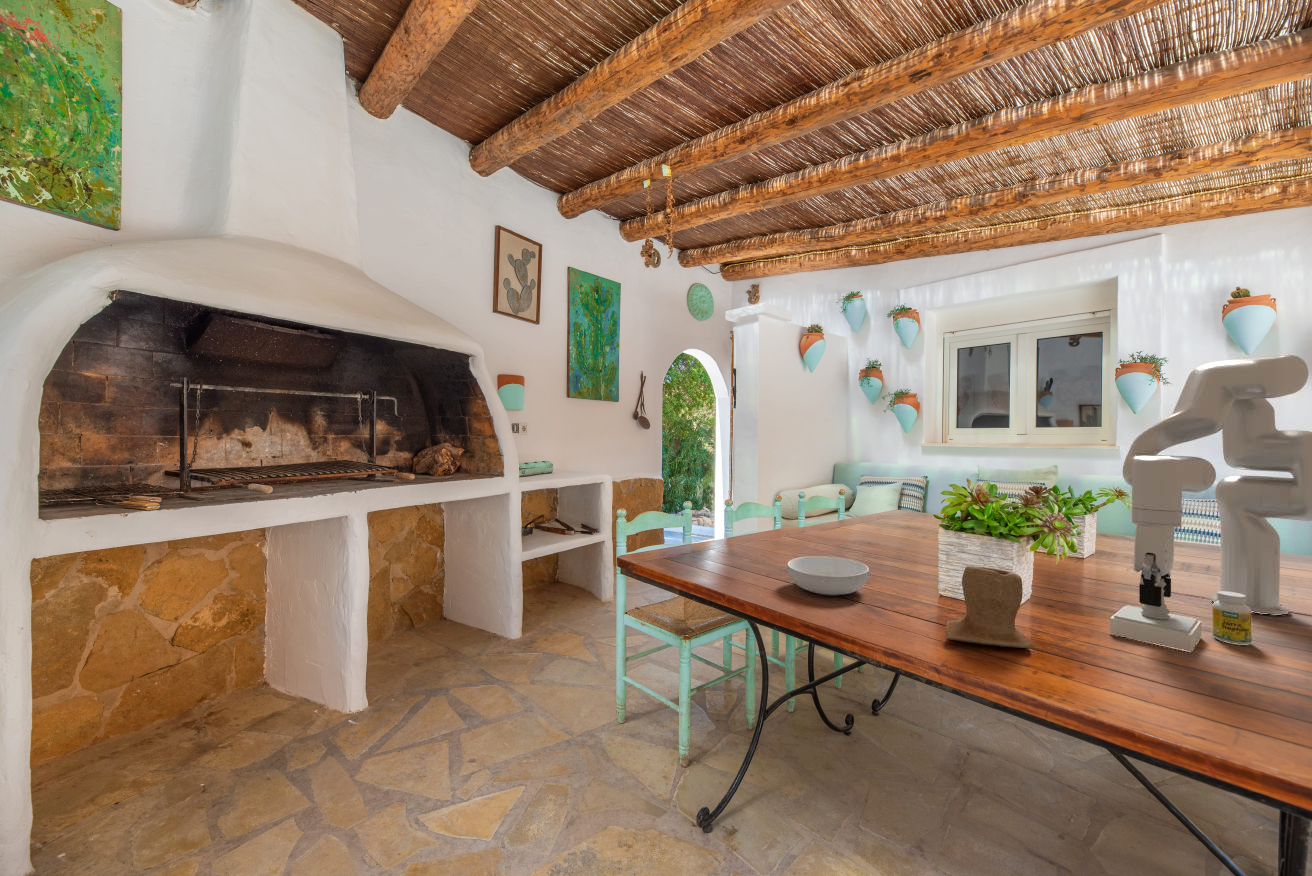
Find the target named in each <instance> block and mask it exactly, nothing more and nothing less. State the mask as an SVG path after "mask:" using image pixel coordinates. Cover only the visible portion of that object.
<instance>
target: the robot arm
mask: <svg viewBox="0 0 1312 876" xmlns="http://www.w3.org/2000/svg"><path fill="white" fill-rule="evenodd" d="M1308 379H1309V367H1308V365H1307V363H1306V361H1305V360H1304V359H1302V358H1301V357H1299V356H1298V355H1294V354H1288V355H1287V354H1285V355H1275V356H1274V355H1271V356H1260V357H1251V358H1249V357H1248V358H1247V357H1245V358H1237V359H1235V358H1234V359H1225V360H1218V361H1214V362H1208V363H1206V364H1203V365H1200V366H1197V367H1196V368H1194V369H1193V370H1192V371H1191V372H1190V373H1189V375H1188V377H1187V379H1186V382H1185V383H1184V386H1183V388H1182V389H1181V392H1180V395H1179V398H1178V399H1177V402H1176V405H1175V407H1174V409H1173V411H1172V414H1171V415H1169V416H1168V417H1166V418H1163V419H1161V420H1160V421H1158V422H1156V423H1155V424H1153V425H1151V426H1150V427H1149V428H1147V429H1146V430H1144V431H1143V432H1142V433H1140V434H1139V435H1138V436H1137V437H1135V439H1134V440H1133V442H1132V443H1131V445H1130V447H1129V450H1128V452H1127V454H1126V457H1125V460H1124V462H1123V467H1122V476H1123V477H1122V478H1123V480H1124V481H1125V482H1126V483H1127V484H1128V485H1129V486H1130V487H1131V524H1134V525H1136V529H1135V535H1134V546H1133V547H1134V550H1133V564H1132V565H1133V566H1132V568H1133V571H1134V572H1136V573H1140V572H1141V573H1140V579H1139V588H1138V589H1139V590H1138V591H1139V598H1138V599H1139V600H1138V601H1139V603H1140V604H1141V605H1144V604H1145V605H1151V606H1156V607H1160V606H1161V588H1162V587H1160V586H1159V585H1160V579H1164V582H1165V583H1166V585H1165V586H1164V587H1163V590H1164V591H1165V592H1164V598H1171V597H1172V578H1171V571H1172V570H1173V568H1174V560H1175V559H1174V558H1175V528H1176V529H1177V528H1182V527H1183V526H1182V522H1183V521H1182V520H1183V519H1182V509H1183V508H1182V507H1183V505H1182V504H1183V503H1182V502H1183V501H1182V500H1183V496H1182V494H1183V493H1193V494H1194V493H1201V492H1204V491H1207V490H1208V489H1210V488H1211V487H1212V486H1213V485H1214V483H1215V481H1216V478H1217V471H1216V469H1215V467H1214V465H1213V464H1212V463H1211V462H1210V461H1209V460H1207V459H1204V458H1202V457H1199V456H1192V455H1191V456H1187V455H1183V456H1182V455H1162V454H1160V455H1159V453H1161V452H1162V451H1164V450H1166V449H1167V450H1168V449H1169V448H1172V447H1174V446H1176V445H1180V444H1184V443H1187V442H1188V443H1189V442H1191V441H1195V440H1199V439H1203V438H1205V437H1209V436H1213V435H1214V434H1217V433H1218V432H1220V431H1221V433H1222V435H1221V436H1222V437H1221V438H1222V454H1223V460H1224V462H1225V464H1226V465H1227V466H1229V468H1232V469H1235V470H1236V469H1237V470H1244V471H1258V472H1261V471H1262V472H1275V473H1277V472H1279V473H1281V472H1282V473H1289V474H1290V475H1292V477H1278V476H1277V477H1276V476H1266V475H1265V476H1263V475H1262V476H1261V475H1241V474H1240V475H1232V476H1227V477H1224V478H1222V479H1221V480H1219V481H1217V484H1216V485H1215V491H1214V492H1215V500H1216V504H1217V508H1218V513H1219V521H1220V576H1219V577H1220V578H1219V579H1220V580H1219V581H1220V583H1219V585H1220V586H1219V587H1220V589H1219V591H1227V592H1235V593H1239V594H1243V595H1245V596H1246V603H1245V604H1244V605H1246V606H1248V607H1249V608H1250V609H1251V611H1254V612H1260V613H1268V614H1285V613H1288V612H1289V611H1290V608H1289V607H1287V606H1286V605H1283V604H1281V603H1280V586H1281V585H1280V578H1281V577H1280V573H1281V572H1280V570H1281V569H1280V568H1281V566H1280V565H1281V539H1280V535H1279V533H1278V531H1277V530H1276V528H1274V526H1273V525H1272V524H1271V523H1270V522H1269V521H1268V520H1267V519H1281V520H1290V521H1303V522H1304V521H1305V522H1312V431H1308V430H1296V429H1295V430H1279V429H1277V428H1276V418H1275V416H1276V414H1275V413H1276V411H1275V409H1274V406H1273V405H1272V404H1271V403H1270V401H1268V400H1267V399H1275V398H1282V397H1286V396H1288V395H1293V394H1296V393H1297V392H1299V391H1301V390H1302V389H1303V388H1304V386H1305V385H1306V383H1307V382H1308ZM1266 518H1267V519H1266ZM1211 600H1212V601H1213V602H1216V601H1219V599H1218V598H1217V594H1213V595H1212V596H1211V597H1210V601H1211ZM1212 601H1211V602H1212ZM1213 602H1212V603H1213Z"/></svg>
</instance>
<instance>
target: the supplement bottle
mask: <svg viewBox="0 0 1312 876" xmlns="http://www.w3.org/2000/svg"><path fill="white" fill-rule="evenodd" d="M1216 595H1217V598H1218V599H1219V601H1216V602H1214V603H1213V602H1212V638H1214V637H1215V638H1217V639H1219V640H1222V641H1227V642H1230V643H1237V644H1250V645H1252V640H1253V639H1252V636H1253V635H1252V613H1251V609H1250V608H1249V607H1248V606H1246V605H1244V604H1245V603H1246V596H1245V595H1243V594H1239V593H1235V592H1227V591H1220V590H1218V591H1217V593H1216ZM1215 638H1214V639H1215Z"/></svg>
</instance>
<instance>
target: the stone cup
mask: <svg viewBox="0 0 1312 876" xmlns="http://www.w3.org/2000/svg"><path fill="white" fill-rule="evenodd" d="M961 585H962V591H963V598H964V602H965V603H964V604H965V611H966V614H965V616H964V617H963V618H962V619H959V620H958V619H957V620H954V619H953V620H951V619H950V620H947V621H946V623H945V635H946V639H947V640H950V641H958V642H962V643H963V642H964V643H970V644H976V645H977V644H978V645H985V646H996V647H1005V648H1006V647H1007V648H1018V649H1020V648H1021V649H1022V648H1023V649H1024V648H1025V649H1026V648H1027V649H1028V648H1030V647H1031V645H1032V642H1031V639H1030V638H1028V636H1026V635H1025V634H1024V633H1022V632H1020V631H1018V629H1017V628H1016V617H1017V614H1018V612H1019V609H1020V606H1021V603H1022V601H1023V591H1024V590H1023V580H1022V577H1021V575H1019V574H1018V573H1016V572H1013V571H1009V570H1005V569H999V568H991V567H984V566H983V567H982V566H974V565H973V566H972V565H967V566H966V567H965V568H964V571H963V573H962V578H961Z"/></svg>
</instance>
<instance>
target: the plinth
mask: <svg viewBox="0 0 1312 876" xmlns="http://www.w3.org/2000/svg"><path fill="white" fill-rule="evenodd" d="M1142 611H1143V609H1142V607H1140V606H1139V607H1138V606H1133V605H1129V604H1127V605H1125V606H1123V607H1122V608H1120V610H1118V611H1117V612H1115V614H1113V615H1112V616H1110V617H1109V618H1110V619H1109V621H1110V622H1109V635H1110V634H1111V636H1114V635H1115V637H1118V636H1121V637H1120V638H1122V637H1127V638H1131V639H1136V640H1141V641H1147V642H1151V643H1156V644H1160V645H1165V646H1169V647H1174V648H1178V649H1184V650H1187V651H1192V649H1193V648H1194V646H1195V645H1196V643H1197V642H1198V640H1199V639H1200V637H1201V638H1202V621H1201V620H1198V618H1195V617H1190V616H1185V615H1181V614H1175V613H1169V614H1168V615H1169V616H1170V618H1169V619H1168V620H1157V619H1152V618H1148V617H1145V616H1144V615H1143V614H1142V613H1141V612H1142ZM1127 638H1126V639H1127ZM1131 639H1130V640H1131ZM1200 640H1201V639H1200ZM1198 643H1199V642H1198ZM1196 646H1197V645H1196ZM1194 649H1195V648H1194ZM1192 652H1193V651H1192Z"/></svg>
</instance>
